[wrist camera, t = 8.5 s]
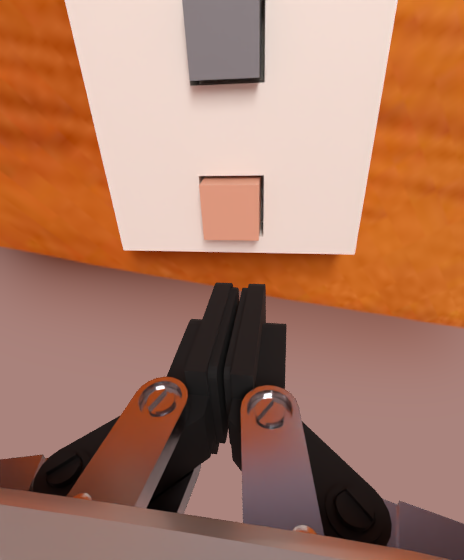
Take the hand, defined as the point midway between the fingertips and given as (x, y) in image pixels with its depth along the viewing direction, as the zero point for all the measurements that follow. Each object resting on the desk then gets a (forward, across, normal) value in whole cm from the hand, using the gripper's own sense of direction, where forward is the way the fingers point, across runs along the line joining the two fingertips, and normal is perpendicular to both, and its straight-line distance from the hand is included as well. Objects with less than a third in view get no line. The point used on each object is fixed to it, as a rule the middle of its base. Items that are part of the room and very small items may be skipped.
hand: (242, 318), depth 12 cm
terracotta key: (+18, +3, +2) cm, 18 cm away
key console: (+20, +3, -4) cm, 21 cm away
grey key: (+18, +3, -9) cm, 20 cm away
